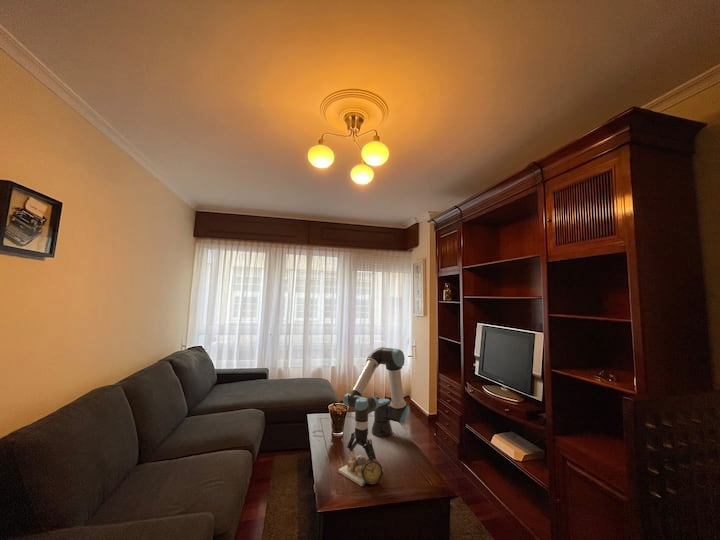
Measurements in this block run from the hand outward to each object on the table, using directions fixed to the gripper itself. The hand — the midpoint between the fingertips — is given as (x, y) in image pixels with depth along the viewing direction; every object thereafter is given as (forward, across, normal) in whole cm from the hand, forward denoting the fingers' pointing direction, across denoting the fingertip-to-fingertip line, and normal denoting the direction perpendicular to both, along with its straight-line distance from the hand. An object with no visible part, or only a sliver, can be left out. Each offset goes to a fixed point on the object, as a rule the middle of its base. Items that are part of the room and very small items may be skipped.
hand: (360, 467), depth 163 cm
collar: (+1, 0, 0) cm, 1 cm away
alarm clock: (+3, +11, -4) cm, 12 cm away
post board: (+3, 0, 0) cm, 3 cm away
